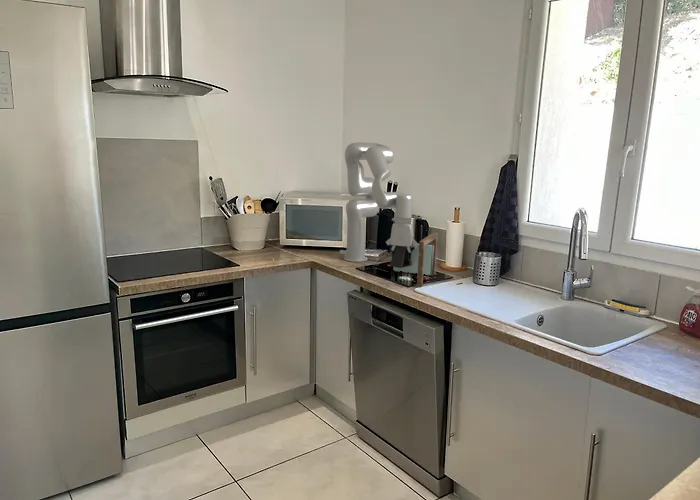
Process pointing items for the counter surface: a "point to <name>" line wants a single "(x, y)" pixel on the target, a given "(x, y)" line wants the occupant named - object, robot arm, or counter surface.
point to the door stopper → (400, 257)
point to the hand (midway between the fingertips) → (401, 259)
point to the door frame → (422, 243)
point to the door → (414, 258)
